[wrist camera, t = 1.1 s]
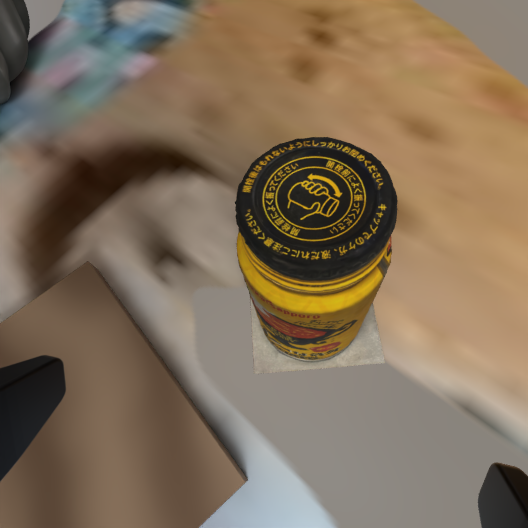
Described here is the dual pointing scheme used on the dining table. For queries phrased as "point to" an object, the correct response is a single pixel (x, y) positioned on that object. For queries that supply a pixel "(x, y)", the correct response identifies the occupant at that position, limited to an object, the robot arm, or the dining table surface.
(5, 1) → the bundt pan
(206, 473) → the walnut board
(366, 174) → the condiment
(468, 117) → the dining table surface
